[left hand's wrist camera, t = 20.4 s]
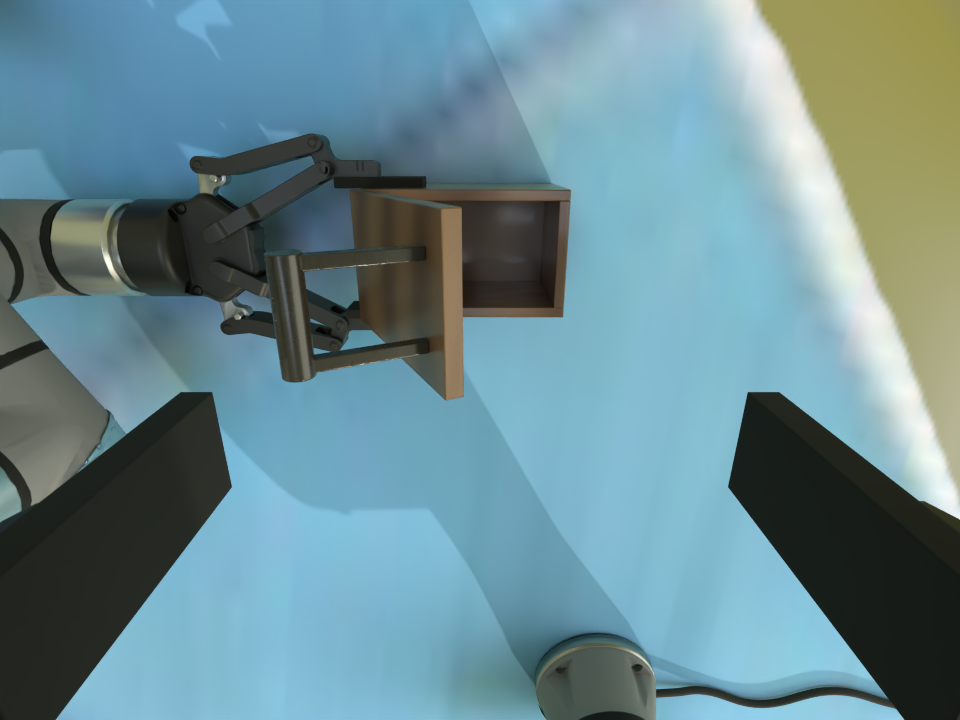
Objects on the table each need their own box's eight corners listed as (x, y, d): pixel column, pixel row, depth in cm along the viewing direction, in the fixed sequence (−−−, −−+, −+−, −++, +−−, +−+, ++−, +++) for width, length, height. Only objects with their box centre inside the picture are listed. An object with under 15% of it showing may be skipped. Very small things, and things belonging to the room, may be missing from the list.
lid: (462, 206, 23) (263, 215, 19) (464, 397, 26) (295, 434, 23) (364, 189, 36) (234, 192, 32) (373, 318, 39) (257, 333, 36)
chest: (552, 183, 45) (571, 189, 36) (547, 287, 49) (563, 317, 39) (384, 183, 45) (358, 189, 36) (390, 286, 49) (368, 316, 39)
